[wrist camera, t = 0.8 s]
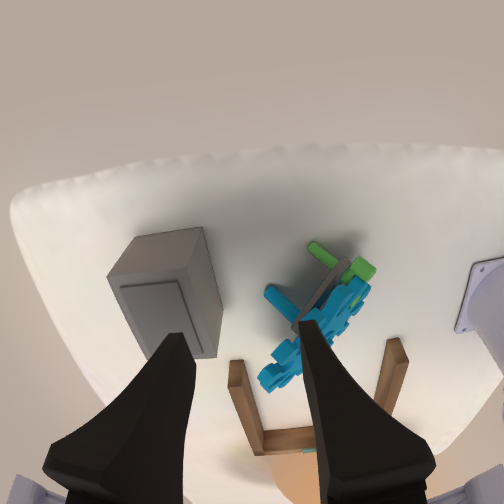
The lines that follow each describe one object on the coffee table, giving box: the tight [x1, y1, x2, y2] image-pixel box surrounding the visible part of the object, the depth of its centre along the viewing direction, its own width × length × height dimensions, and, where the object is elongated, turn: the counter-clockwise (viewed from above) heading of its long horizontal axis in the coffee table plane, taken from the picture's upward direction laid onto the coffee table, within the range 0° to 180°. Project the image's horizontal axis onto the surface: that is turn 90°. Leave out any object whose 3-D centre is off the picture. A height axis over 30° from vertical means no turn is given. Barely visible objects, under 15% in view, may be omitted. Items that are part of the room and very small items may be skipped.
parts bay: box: [228, 338, 409, 456], centre depth 28 cm, size 15×15×3 cm
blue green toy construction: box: [257, 242, 377, 393], centre depth 21 cm, size 11×6×10 cm
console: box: [107, 227, 223, 360], centre depth 20 cm, size 5×7×5 cm
